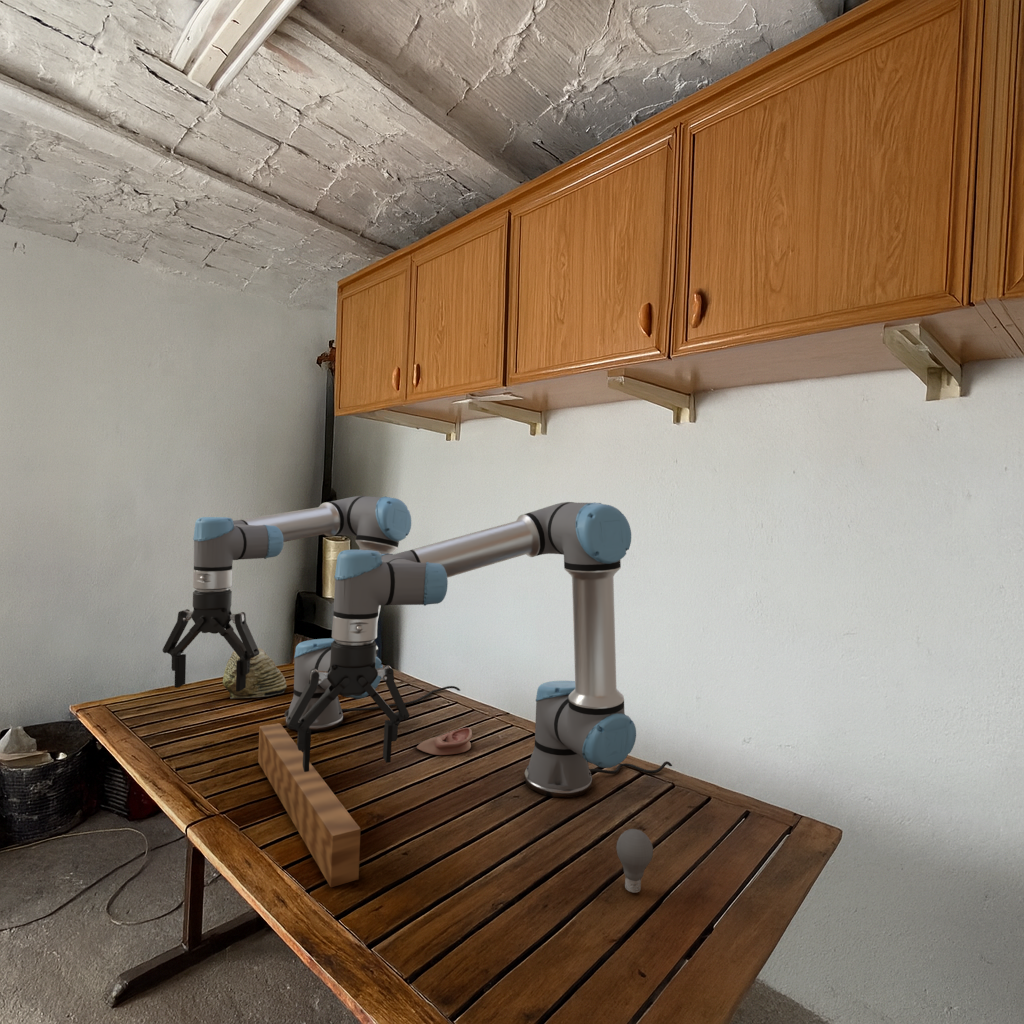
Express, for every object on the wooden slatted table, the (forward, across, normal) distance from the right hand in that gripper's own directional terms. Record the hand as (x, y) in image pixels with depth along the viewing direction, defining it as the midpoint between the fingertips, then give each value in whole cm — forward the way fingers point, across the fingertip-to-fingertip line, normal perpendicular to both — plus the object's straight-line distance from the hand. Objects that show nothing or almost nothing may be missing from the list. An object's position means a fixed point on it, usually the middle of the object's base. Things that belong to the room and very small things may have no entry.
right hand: (347, 764), depth 108 cm
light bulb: (+17, +44, -23) cm, 52 cm away
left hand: (-3, -22, +40) cm, 46 cm away
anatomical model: (+17, +33, +45) cm, 58 cm away
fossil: (+18, -11, +103) cm, 105 cm away
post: (+18, -5, +23) cm, 29 cm away
